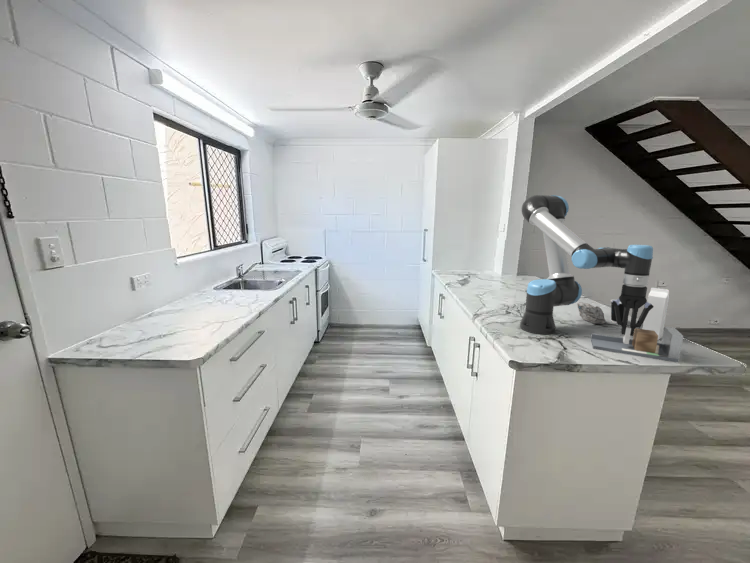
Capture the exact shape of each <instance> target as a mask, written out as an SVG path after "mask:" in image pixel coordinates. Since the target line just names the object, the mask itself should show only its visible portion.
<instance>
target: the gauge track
mask: <svg viewBox="0 0 750 563" xmlns="http://www.w3.org/2000/svg"><path fill="white" fill-rule="evenodd" d="M632 342H633V338H630V339H629V344H624V342H623V337H619V336H613V335H611V336H610V335H605V334H598V333H591V335H590V343H591V347H592V349H594V350H600V351H606V352H613V353H616V354H617V353H618V354H623V355H630V356H631V355H632V356H637V357H642V358H649V359H653V360H654V359H656V360H662V361H667V362H674V363H679V361H680V358H679V359H674V358H668V356H667V355H666V354H665V353H664V352H663V351H662V349H661V347H662V343H661V342H657V345H659V351H658V354H656V353H652V352H645V351H639V350H635V349H634V347H633V345H632Z"/></svg>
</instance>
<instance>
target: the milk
mask: <svg viewBox="0 0 750 563" xmlns="http://www.w3.org/2000/svg"><path fill="white" fill-rule="evenodd" d="M646 300H647V302H648V303H650V304H652V305H653V306H654V307H653V308H652V309H651V310H650V311H649V312H648V314H647V316H646V318H645V320H644V322H643V324H642V329H644V330H652V331H655V332H656V334H657V335H658V340H657V341H660V339H662V337H663V332H664V326H665V323H666V318H667V311H668V307H669V306H668V305H669V301H670V290H669V289H666V288H661V287H660V288H659V287H651V288H650V291H649V293H648V296H647V298H646Z"/></svg>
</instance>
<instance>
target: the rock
mask: <svg viewBox="0 0 750 563" xmlns="http://www.w3.org/2000/svg"><path fill="white" fill-rule="evenodd" d="M576 305H577V308H578V312H579V316H580V317H581V320H583V321H585V322H589V323H591V324H601V325H603V324H605V323H606V322H607V321H606V319H605V314H604V311H603V309H602V308H601V307H600V306H598V305H596V306H594V305H592V304H591V303H588V302H583V301H579V302H578V303H577V304H576Z"/></svg>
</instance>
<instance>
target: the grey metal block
mask: <svg viewBox="0 0 750 563" xmlns="http://www.w3.org/2000/svg"><path fill="white" fill-rule="evenodd" d="M683 339H684V335H683V334H682V333H681V332H680V331H679V330H678V329H677V328H675V327H674V326H673V327H672V326H665V325H664V329H663V335H662V337H661V342H660V343H662V347H661V349H662V351H663V352H664V353H665V354H666V355H667V356H668V358H674V359H679V360H680V355H681V351H682V345H683V341H684V340H683Z"/></svg>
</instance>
